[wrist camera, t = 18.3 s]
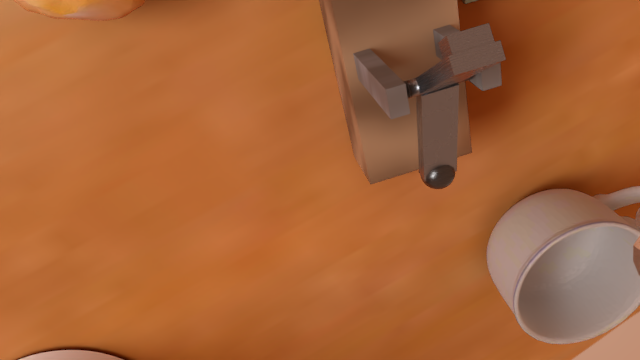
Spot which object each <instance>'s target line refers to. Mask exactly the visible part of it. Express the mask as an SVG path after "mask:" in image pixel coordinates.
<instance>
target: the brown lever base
mask: <svg viewBox="0 0 640 360" xmlns="http://www.w3.org/2000/svg"><path fill="white" fill-rule="evenodd" d="M319 2H320V6H321V11H322V15H323V20H324V24H325V28H326V33H327V37H328V42H329V46H330V50H331V55H332V59H333V64H334V68H335V72H336V77H337V81H338V86H339V90H340V94H341V99H342V103H343V108H344V112H345V116H346V121H347V125H348V130H349V134H350V139H351V143H352V147H353V152H354V156H355V158H356V160H357V162H358V164H359V165H360V167H361V169H362V170H363V172H364V174H365V176H366V177H367V179H368V181H369V182H370V184H374V183H377V182H380V181H383V180H386V179H390V178H393V177H396V176H399V175H402V174H405V173H409V172H412V171H415V170H418V169H419V159H418V136H417V113H416V97H413V98H410V99H408V96H407V89H406V84H405V83H404V82H403V81H406V80H410V79H413V78H416V77H418V76H420V75H421V74H423V73H424V72H425V71H427V70H428V69H430V68H431V67H433V66H434V65H436V64H437V63H439V62H440V61H442V60H443V57H442V54H441V51H440V47H439V44H438V42H439V41H441V40H442V39H443V38H444V37H446V36H447V35H450V34H454V33H457V32H460V24H459V13H458V3H457V0H319ZM469 81H470V82H471V83H473V84H474V85H475V86H477V87H478V88H479V89H481V90H482V91H485V90H488V89H492V88H495V87H498V86H501V85H502V80H501V63H498V64H496V65H494V66H492V67H490V68H488V69H486V70H484V71H482V72H480V73H478V74H476V75H473V78H472V80H469ZM469 153H472V147H471V137H470V127H469V116H468V106H467V96H466V85H465V82H462V83H459V105H458V138H457V157H459V156H463V155H466V154H469Z"/></svg>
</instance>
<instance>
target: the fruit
mask: <svg viewBox="0 0 640 360" xmlns="http://www.w3.org/2000/svg"><path fill="white" fill-rule="evenodd" d="M14 1H15V2H17V3H18V4H19V5H20V6H22V7H23V8H24V9H25V10H27V11H31V12H35V13H39V14H43V15H46V16H49V17H51V18H59V19H82V20H102V21H104V20H112V19H117V18H122V17H124V16H126V15H128V14H129V13H131V12H132V11H133V10H135V9H137V8H139V7H140V6H141V5H143V4H144V1H145V0H14Z"/></svg>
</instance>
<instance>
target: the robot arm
mask: <svg viewBox="0 0 640 360" xmlns="http://www.w3.org/2000/svg"><path fill="white" fill-rule="evenodd" d="M635 226H636V227H637V228H638V229H639V230H640V208H639V209H638V211H637V213H636V220H635ZM633 262H634V264H635V267H636V269H637V272H638V274H639V276H640V236H639V237H638V239H637V241H636V242H635V244H634V245H633ZM19 360H123V359H121V358H118V357H115V356H112V355H108V354H104V353H99V352H94V351H85V350H59V351H50V352H44V353H39V354H35V355H31V356H28V357H24V358H22V359H19Z"/></svg>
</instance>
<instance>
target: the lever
mask: <svg viewBox="0 0 640 360" xmlns="http://www.w3.org/2000/svg"><path fill="white" fill-rule="evenodd" d="M438 44H439V47H440V51H441V54H442V57H443V60H442V61H440V62H439V63H437V64H436V65H434V66H433V67H431V68H430V69H428V70H427V71H425V72H424V73H423V74H421V75H420V76H418V77H416V78H413V79H410V80H406V81H403V82H404V83H405V84H406V89H407V96H408V99H410V98H413V97H416V113H417V136H418V159H419V173H420V175H421V178H422V180H423V182H424V183H425V184H426V185H427V186H429V187H430V188H433V189H442V188H445V187H447V186H448V185H450V184H451V182H452V181H453V179H454V177H455V171H457V138H458V105H459V83H462V82H465V81H469V80H472V78H473V75H476V74H478V73H480V72H482V71H484V70H486V69H488V68H490V67H492V66H494V65H496V64H498V63H500V62H502V61H504V60H506V58H505V54H504V51H503V47H502V44H501V41H500V40H499V41H496V42H494V38H493V35H492V31H491V28H490V25H489V23H487V24H484V25H480V26H477V27H474V28H470V29H467V30H464V31H460V32H457V33H454V34H450V35H447V36H446V37H444V38H443V39H442V40H441V41H439V42H438Z"/></svg>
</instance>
